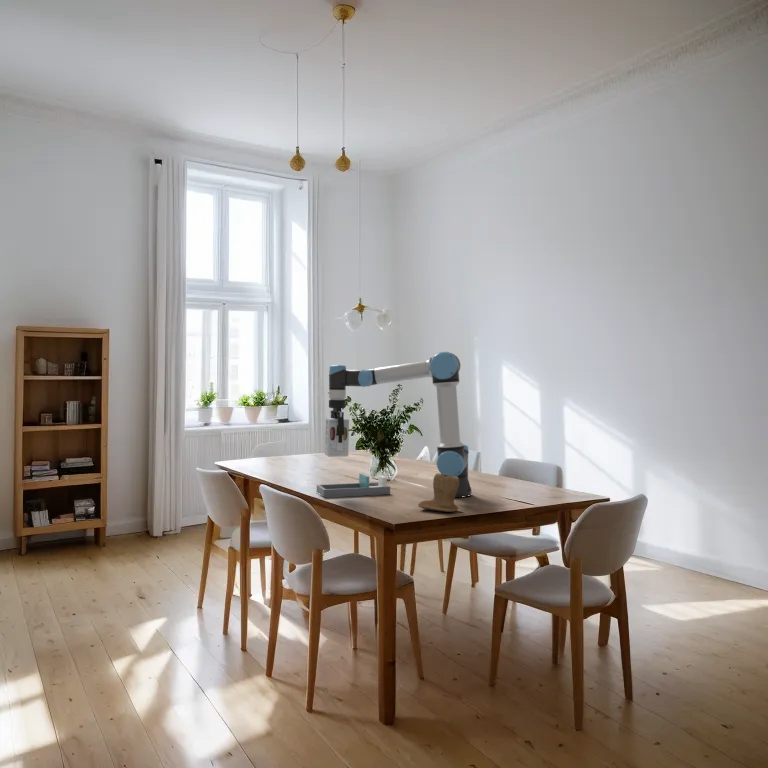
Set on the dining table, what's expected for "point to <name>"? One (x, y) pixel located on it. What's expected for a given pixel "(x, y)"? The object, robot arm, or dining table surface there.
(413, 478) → the dining table surface
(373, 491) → the grey tray
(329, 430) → the supplement box
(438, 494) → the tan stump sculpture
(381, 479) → the pusher
